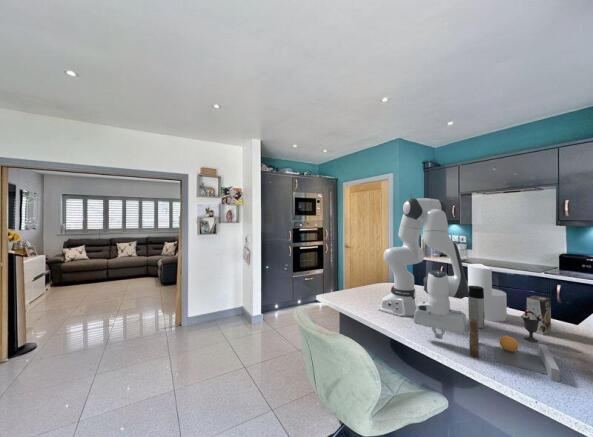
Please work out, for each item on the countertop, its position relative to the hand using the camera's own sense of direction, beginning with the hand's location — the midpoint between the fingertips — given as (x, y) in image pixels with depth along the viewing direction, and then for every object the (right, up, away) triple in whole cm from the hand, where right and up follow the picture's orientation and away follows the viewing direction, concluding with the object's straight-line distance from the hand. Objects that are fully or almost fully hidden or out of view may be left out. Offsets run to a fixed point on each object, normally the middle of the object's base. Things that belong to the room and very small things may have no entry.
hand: (438, 338), depth 112 cm
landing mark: (+23, -1, -14) cm, 27 cm away
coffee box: (+55, -1, +10) cm, 56 cm away
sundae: (+42, -1, +1) cm, 42 cm away
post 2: (+7, -2, -12) cm, 14 cm away
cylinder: (+45, -1, +30) cm, 54 cm away
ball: (+24, +2, -8) cm, 26 cm away
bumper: (+30, -1, -19) cm, 36 cm away
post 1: (+15, -1, -1) cm, 16 cm away
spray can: (+29, -2, +16) cm, 33 cm away
